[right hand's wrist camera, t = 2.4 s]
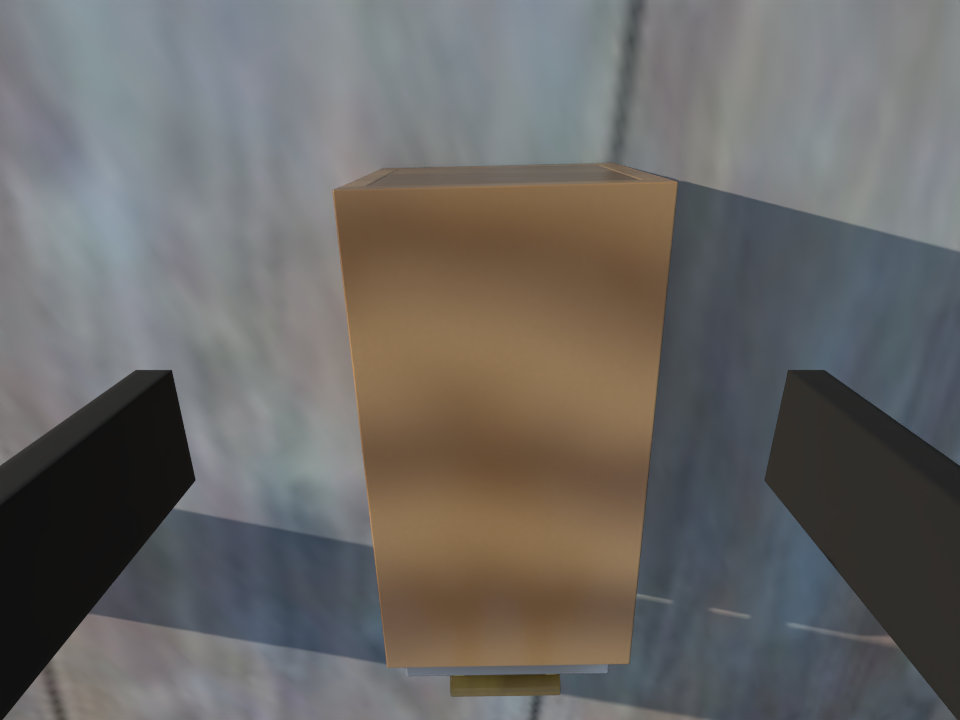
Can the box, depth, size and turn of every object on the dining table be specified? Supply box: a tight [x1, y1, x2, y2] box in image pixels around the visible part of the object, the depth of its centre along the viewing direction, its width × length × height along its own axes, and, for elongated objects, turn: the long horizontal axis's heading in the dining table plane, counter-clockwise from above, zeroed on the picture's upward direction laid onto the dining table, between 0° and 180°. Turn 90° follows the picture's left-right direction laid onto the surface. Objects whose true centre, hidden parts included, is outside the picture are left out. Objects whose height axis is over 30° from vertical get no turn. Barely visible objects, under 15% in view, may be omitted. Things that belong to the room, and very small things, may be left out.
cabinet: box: [333, 163, 678, 668], centre depth 25 cm, size 20×10×9 cm, turn 1°
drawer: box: [406, 664, 609, 697], centre depth 27 cm, size 25×9×7 cm, turn 1°
